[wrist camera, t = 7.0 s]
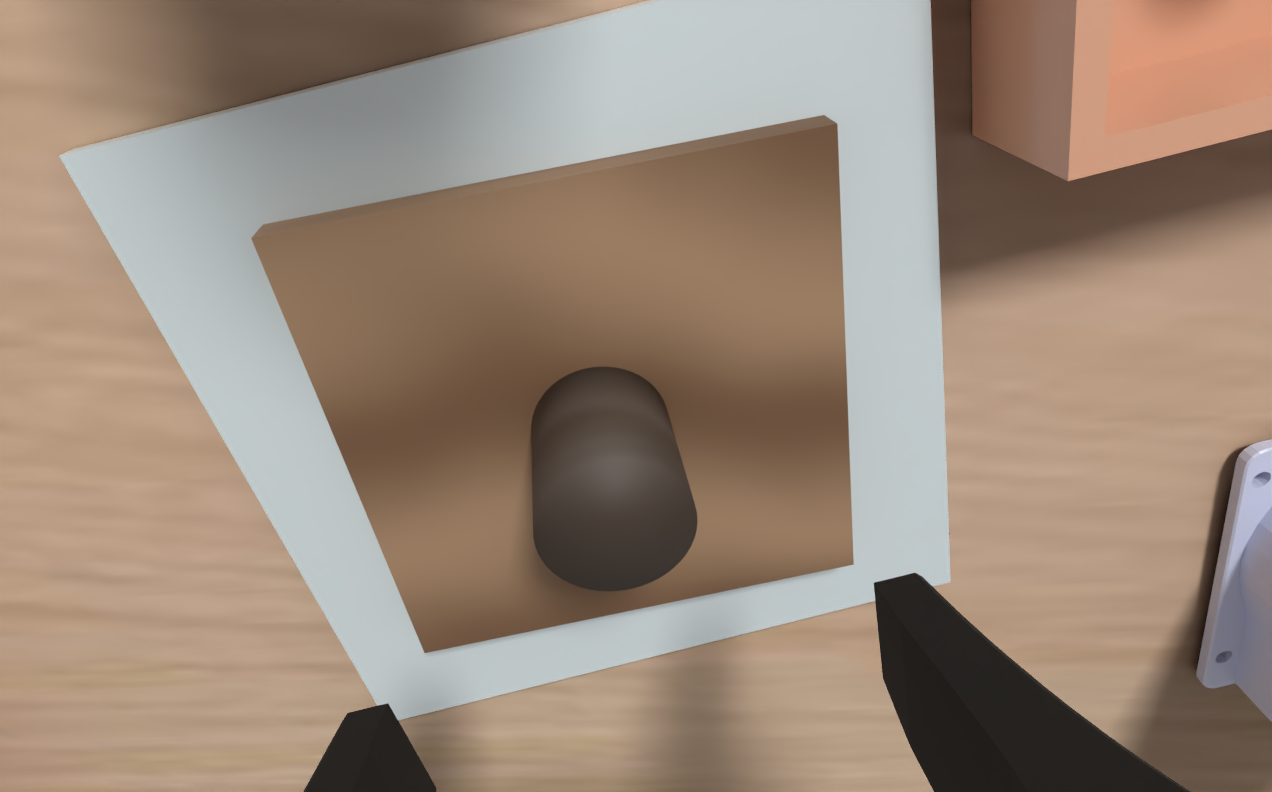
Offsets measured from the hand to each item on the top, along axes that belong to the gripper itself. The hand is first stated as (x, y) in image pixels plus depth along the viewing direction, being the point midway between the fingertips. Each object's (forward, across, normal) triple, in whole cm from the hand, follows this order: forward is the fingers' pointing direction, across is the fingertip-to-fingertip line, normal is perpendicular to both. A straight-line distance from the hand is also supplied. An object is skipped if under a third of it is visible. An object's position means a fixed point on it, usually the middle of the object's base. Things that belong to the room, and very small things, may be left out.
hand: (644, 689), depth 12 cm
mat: (+8, 0, 0) cm, 8 cm away
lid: (+8, 0, 0) cm, 8 cm away
